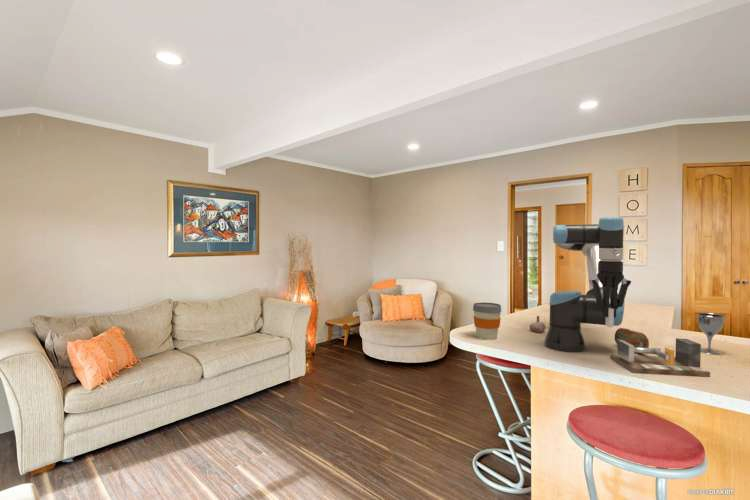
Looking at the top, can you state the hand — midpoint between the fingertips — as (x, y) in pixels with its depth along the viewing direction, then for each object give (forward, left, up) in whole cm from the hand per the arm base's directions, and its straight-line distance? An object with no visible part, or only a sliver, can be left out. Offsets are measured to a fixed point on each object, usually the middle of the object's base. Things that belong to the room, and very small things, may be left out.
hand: (609, 326), depth 132 cm
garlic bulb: (-12, +47, -14) cm, 51 cm away
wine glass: (+47, +23, -14) cm, 54 cm away
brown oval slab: (+17, +20, -14) cm, 30 cm away
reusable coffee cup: (-38, +32, -14) cm, 52 cm away
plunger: (+11, -1, -11) cm, 16 cm away
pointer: (+17, -5, -11) cm, 20 cm away
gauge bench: (+16, 0, -14) cm, 21 cm away
